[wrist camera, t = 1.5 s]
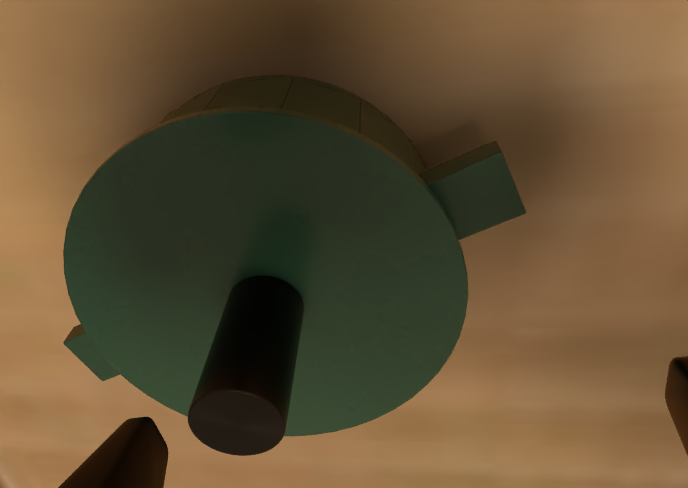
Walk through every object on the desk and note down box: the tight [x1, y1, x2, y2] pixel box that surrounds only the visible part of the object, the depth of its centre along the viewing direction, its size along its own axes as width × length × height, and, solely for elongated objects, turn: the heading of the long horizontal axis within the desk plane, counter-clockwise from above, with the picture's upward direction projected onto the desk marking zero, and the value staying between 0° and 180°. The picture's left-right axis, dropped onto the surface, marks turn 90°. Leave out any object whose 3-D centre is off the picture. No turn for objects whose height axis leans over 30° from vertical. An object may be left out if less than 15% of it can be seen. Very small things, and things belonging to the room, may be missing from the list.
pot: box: [64, 76, 526, 381], centre depth 21 cm, size 13×18×5 cm
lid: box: [63, 106, 468, 456], centre depth 17 cm, size 14×14×6 cm
